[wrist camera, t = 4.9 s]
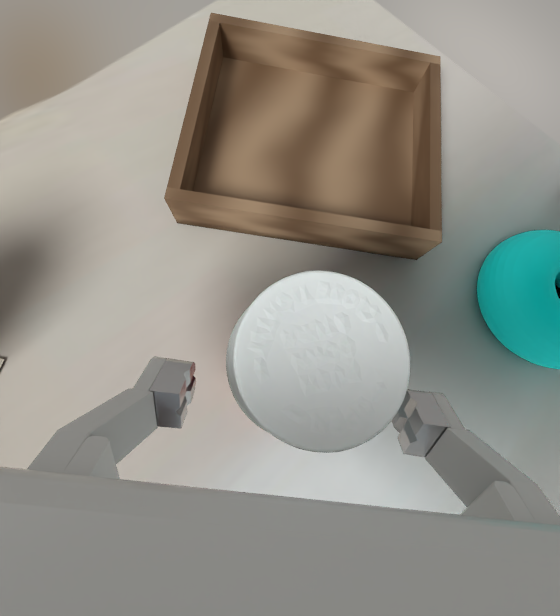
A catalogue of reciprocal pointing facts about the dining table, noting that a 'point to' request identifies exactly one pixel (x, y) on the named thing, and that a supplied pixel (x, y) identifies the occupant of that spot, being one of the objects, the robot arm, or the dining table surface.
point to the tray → (311, 140)
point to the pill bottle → (319, 361)
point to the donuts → (524, 295)
